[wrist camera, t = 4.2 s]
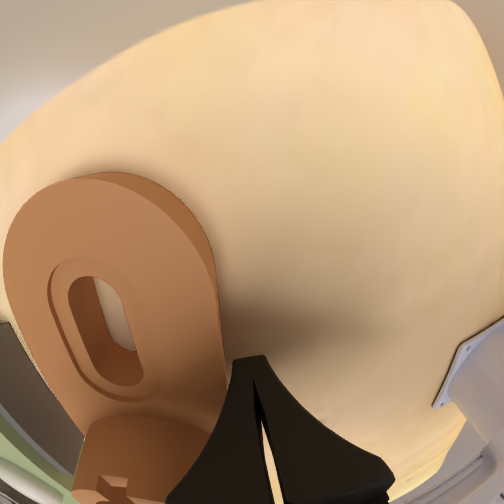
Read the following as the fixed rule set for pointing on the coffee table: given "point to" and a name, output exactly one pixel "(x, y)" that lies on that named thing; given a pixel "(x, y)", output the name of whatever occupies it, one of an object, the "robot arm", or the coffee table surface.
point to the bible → (12, 495)
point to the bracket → (140, 323)
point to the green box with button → (34, 430)
